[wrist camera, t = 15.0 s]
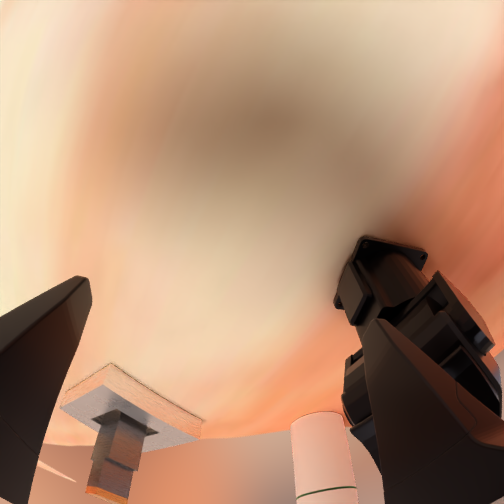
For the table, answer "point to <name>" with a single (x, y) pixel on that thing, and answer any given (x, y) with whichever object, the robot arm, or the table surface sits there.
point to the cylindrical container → (322, 460)
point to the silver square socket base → (131, 408)
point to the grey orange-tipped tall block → (115, 457)
